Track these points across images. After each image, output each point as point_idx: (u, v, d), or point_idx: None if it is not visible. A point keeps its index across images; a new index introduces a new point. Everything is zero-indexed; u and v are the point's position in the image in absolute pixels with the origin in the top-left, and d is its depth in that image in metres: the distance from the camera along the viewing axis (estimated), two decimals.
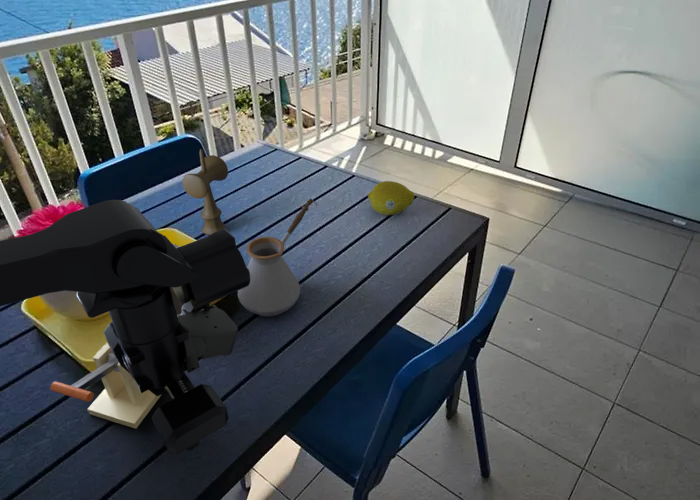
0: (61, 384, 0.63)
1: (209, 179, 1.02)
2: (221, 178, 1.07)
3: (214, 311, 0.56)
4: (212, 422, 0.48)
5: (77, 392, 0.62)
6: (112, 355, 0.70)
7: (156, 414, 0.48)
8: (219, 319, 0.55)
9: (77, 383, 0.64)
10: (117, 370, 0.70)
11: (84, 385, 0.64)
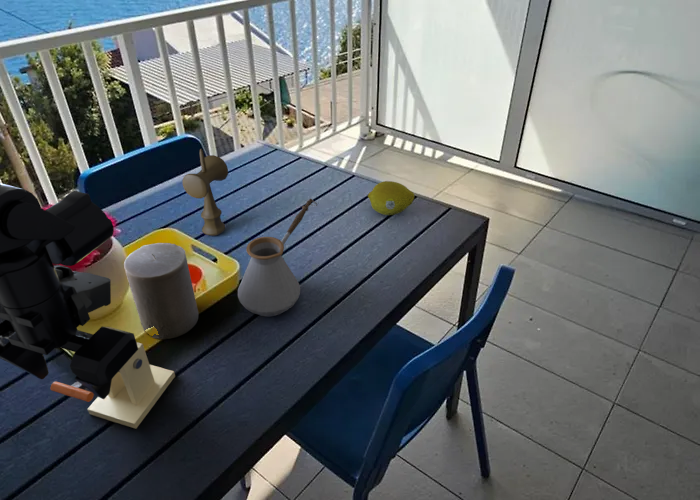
0: (61, 384, 0.63)
1: (209, 179, 1.02)
2: (221, 178, 1.07)
3: (79, 274, 0.61)
4: (128, 347, 0.55)
5: (77, 392, 0.62)
6: None
7: (74, 361, 0.53)
8: (88, 278, 0.61)
9: (77, 383, 0.64)
10: None
11: None
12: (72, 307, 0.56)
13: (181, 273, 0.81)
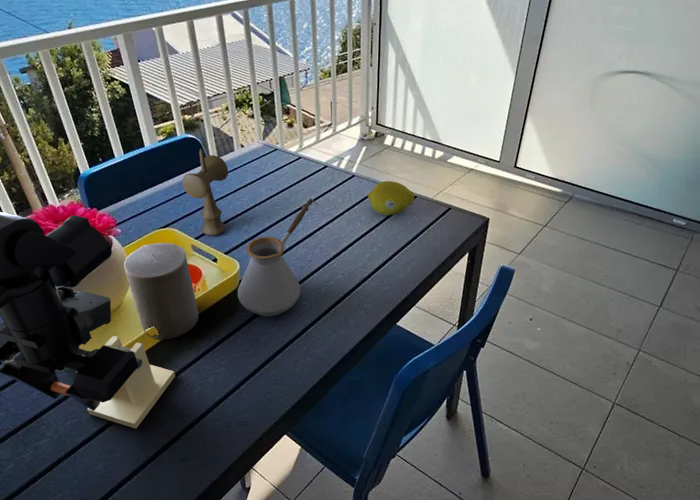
0: (61, 384, 0.63)
1: (209, 179, 1.02)
2: (221, 178, 1.07)
3: (80, 294, 0.64)
4: (128, 365, 0.58)
5: None
6: None
7: (77, 379, 0.55)
8: (89, 297, 0.63)
9: None
10: None
11: None
12: (74, 327, 0.58)
13: (181, 273, 0.81)
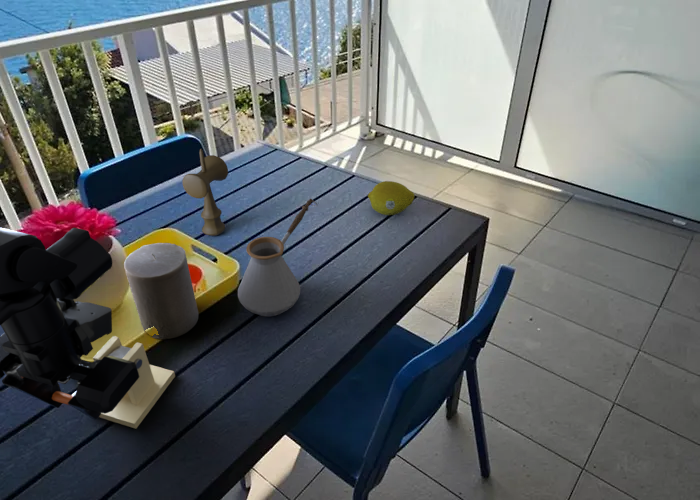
0: (62, 394, 0.64)
1: (209, 179, 1.02)
2: (221, 178, 1.07)
3: (81, 305, 0.64)
4: (130, 376, 0.59)
5: None
6: None
7: (79, 391, 0.56)
8: (90, 308, 0.64)
9: None
10: None
11: None
12: (76, 339, 0.59)
13: (181, 273, 0.81)
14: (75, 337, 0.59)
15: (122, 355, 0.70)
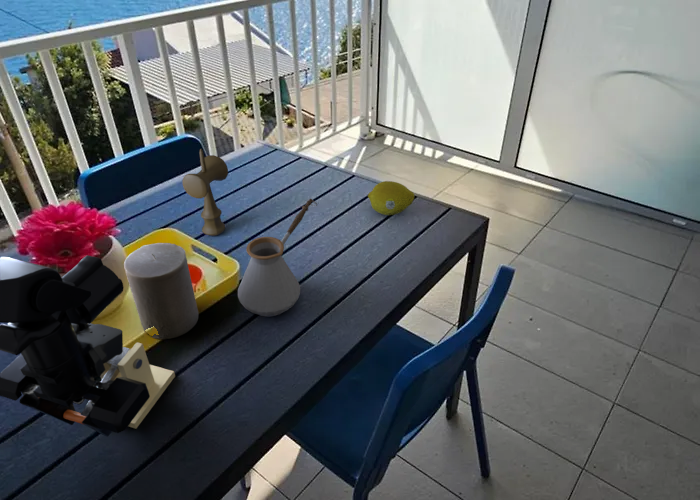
0: (71, 414, 0.66)
1: (209, 179, 1.02)
2: (221, 178, 1.07)
3: (93, 327, 0.67)
4: (141, 397, 0.62)
5: None
6: (110, 363, 0.70)
7: (93, 412, 0.59)
8: (102, 330, 0.67)
9: (85, 409, 0.66)
10: None
11: None
12: (89, 361, 0.62)
13: (181, 273, 0.81)
14: (89, 359, 0.62)
15: (120, 359, 0.70)
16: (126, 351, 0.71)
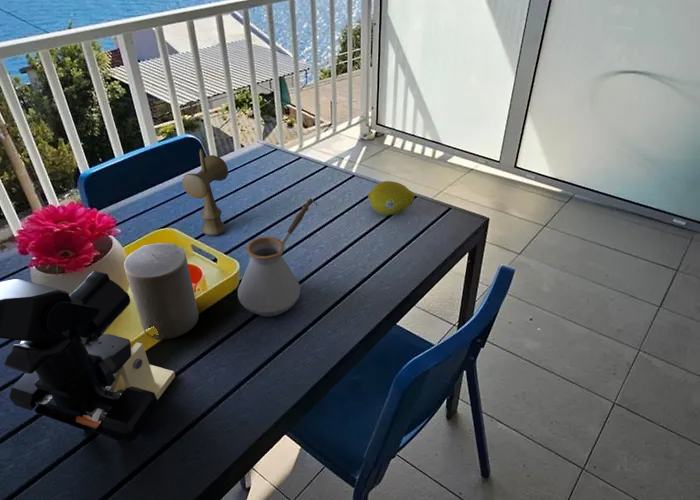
0: (83, 420, 0.68)
1: (209, 179, 1.02)
2: (221, 178, 1.07)
3: (102, 337, 0.69)
4: (150, 406, 0.64)
5: None
6: None
7: (105, 422, 0.61)
8: (111, 340, 0.69)
9: (95, 414, 0.69)
10: None
11: (102, 413, 0.69)
12: (100, 372, 0.64)
13: (181, 273, 0.81)
14: (99, 371, 0.64)
15: None
16: None
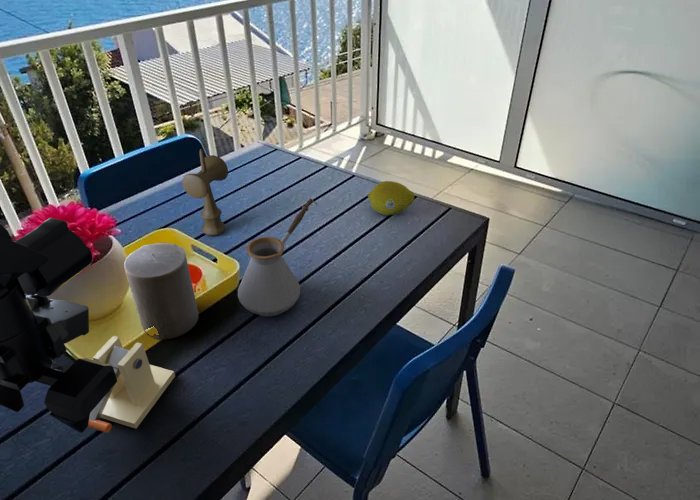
0: None
1: (209, 179, 1.02)
2: (221, 178, 1.07)
3: (55, 302, 0.59)
4: (106, 380, 0.53)
5: (95, 427, 0.67)
6: None
7: (48, 396, 0.50)
8: (65, 306, 0.58)
9: (92, 414, 0.68)
10: None
11: (99, 412, 0.68)
12: (47, 339, 0.54)
13: (181, 273, 0.81)
14: (46, 337, 0.53)
15: (119, 361, 0.70)
16: (124, 352, 0.71)
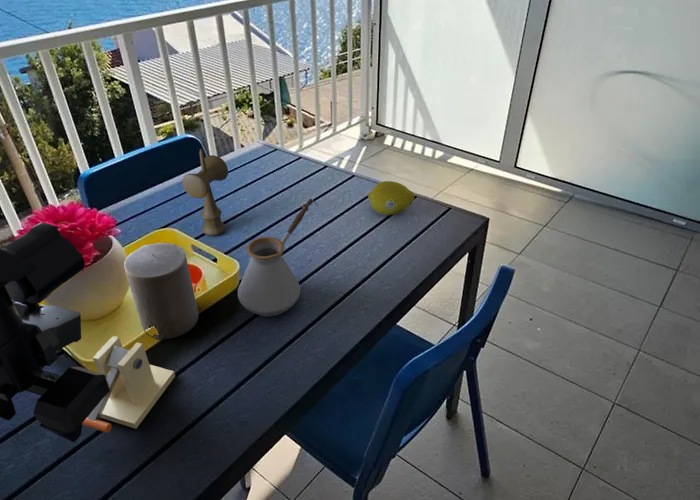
0: None
1: (209, 179, 1.02)
2: (221, 178, 1.07)
3: (46, 308, 0.57)
4: (97, 390, 0.51)
5: (95, 427, 0.67)
6: (110, 365, 0.70)
7: (37, 407, 0.49)
8: (56, 312, 0.57)
9: (92, 414, 0.68)
10: None
11: (99, 412, 0.68)
12: (37, 347, 0.52)
13: (181, 273, 0.81)
14: (36, 345, 0.52)
15: (119, 361, 0.70)
16: (124, 352, 0.71)
